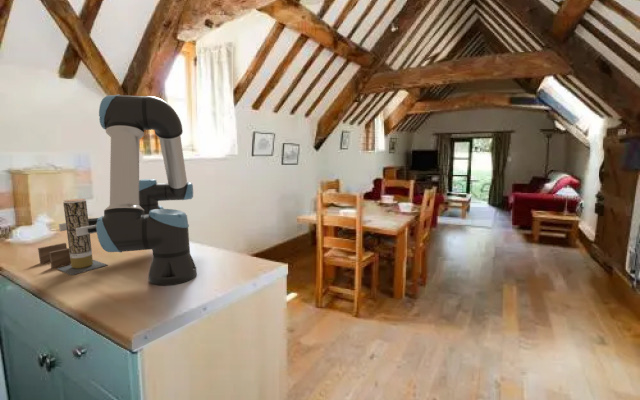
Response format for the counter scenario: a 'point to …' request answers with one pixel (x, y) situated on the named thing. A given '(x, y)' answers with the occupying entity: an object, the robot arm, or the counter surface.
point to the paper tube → (77, 244)
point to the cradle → (55, 255)
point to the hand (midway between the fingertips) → (67, 229)
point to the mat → (73, 271)
